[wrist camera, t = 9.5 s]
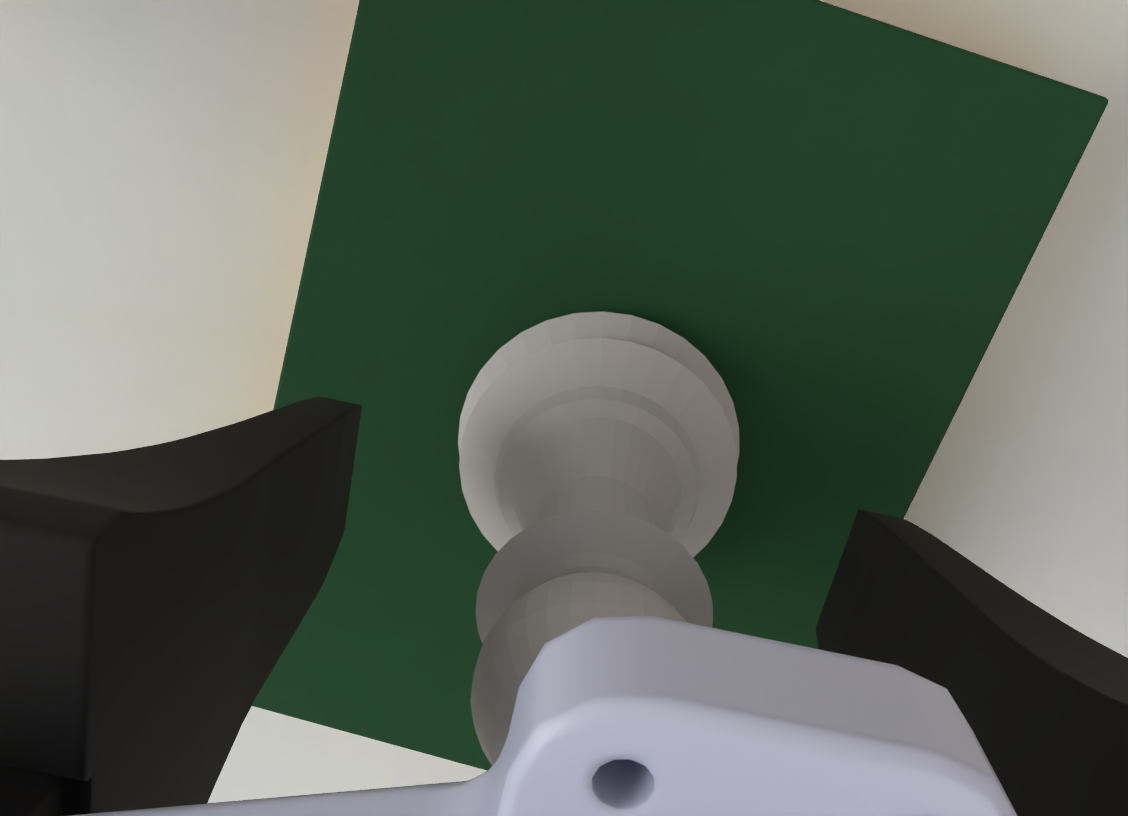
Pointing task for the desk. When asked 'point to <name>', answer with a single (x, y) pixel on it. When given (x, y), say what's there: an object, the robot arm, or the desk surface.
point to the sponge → (647, 287)
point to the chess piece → (589, 488)
